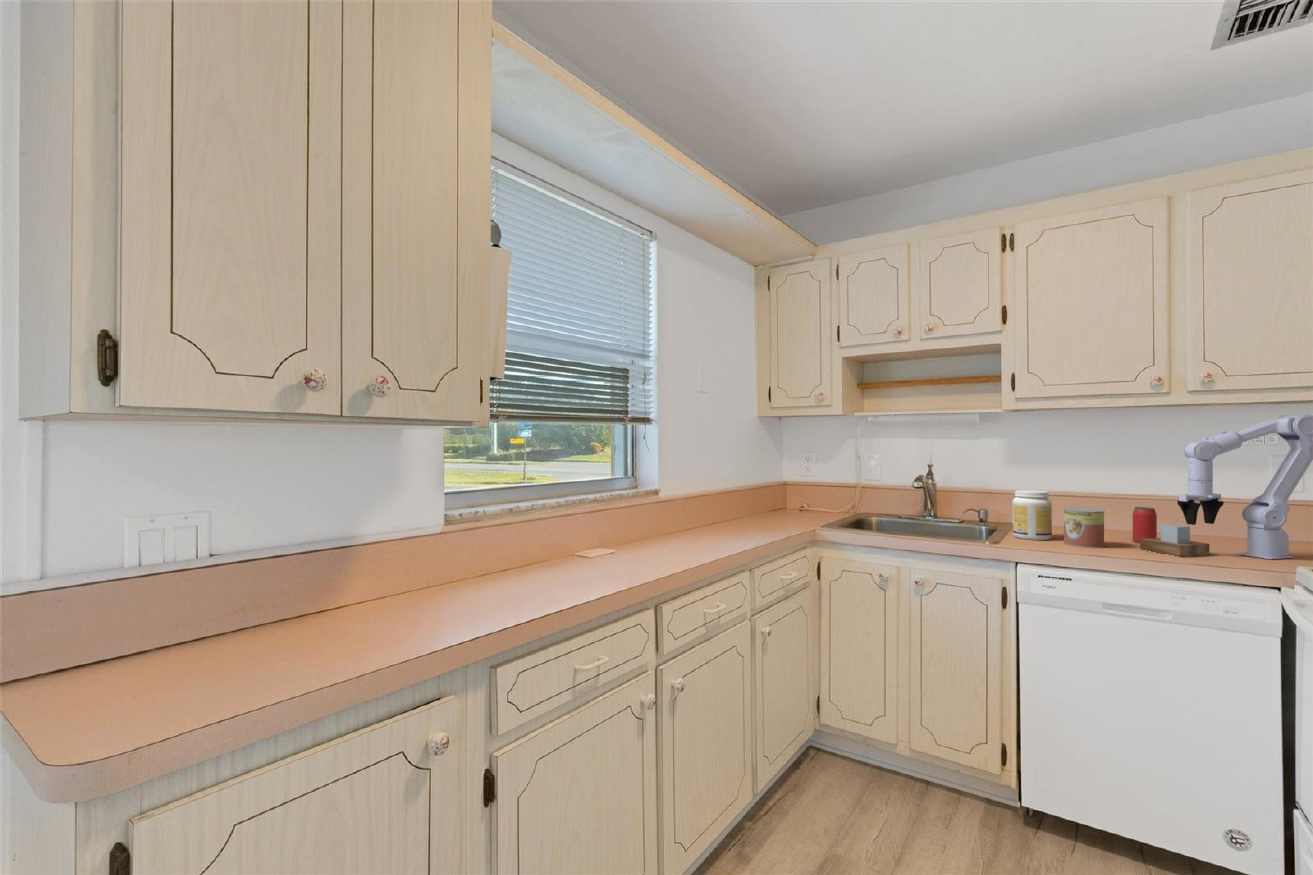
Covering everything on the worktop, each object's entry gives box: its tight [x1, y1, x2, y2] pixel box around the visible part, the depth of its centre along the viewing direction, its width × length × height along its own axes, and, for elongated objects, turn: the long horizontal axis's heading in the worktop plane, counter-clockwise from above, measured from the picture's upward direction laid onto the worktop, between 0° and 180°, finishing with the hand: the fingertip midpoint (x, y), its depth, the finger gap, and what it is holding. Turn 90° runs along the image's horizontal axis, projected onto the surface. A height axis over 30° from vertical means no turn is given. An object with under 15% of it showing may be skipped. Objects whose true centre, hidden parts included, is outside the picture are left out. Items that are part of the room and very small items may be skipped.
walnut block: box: [1139, 537, 1210, 558], centre depth 193 cm, size 12×12×4 cm
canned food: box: [1063, 507, 1105, 549], centre depth 207 cm, size 11×11×12 cm
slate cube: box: [1160, 523, 1191, 543], centre depth 193 cm, size 5×5×5 cm
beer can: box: [1132, 506, 1158, 544], centre depth 211 cm, size 7×7×12 cm
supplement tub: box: [1011, 489, 1053, 541], centre depth 221 cm, size 12×12×17 cm
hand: (1200, 523), depth 190 cm, fingers open, 7 cm apart
